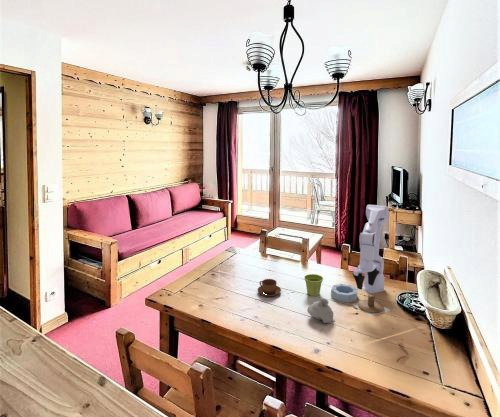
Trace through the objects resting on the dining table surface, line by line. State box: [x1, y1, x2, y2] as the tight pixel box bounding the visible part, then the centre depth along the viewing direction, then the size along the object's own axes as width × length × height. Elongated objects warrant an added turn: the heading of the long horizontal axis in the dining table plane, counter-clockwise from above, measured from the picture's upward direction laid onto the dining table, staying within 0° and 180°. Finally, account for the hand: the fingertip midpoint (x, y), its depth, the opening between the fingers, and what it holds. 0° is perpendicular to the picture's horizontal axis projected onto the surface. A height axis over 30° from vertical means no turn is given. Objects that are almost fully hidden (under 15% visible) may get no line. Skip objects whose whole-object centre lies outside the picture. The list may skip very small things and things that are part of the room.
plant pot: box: [303, 273, 324, 297], centre depth 161 cm, size 9×9×9 cm
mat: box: [351, 301, 392, 317], centre depth 146 cm, size 12×12×1 cm
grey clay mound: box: [306, 298, 334, 324], centre depth 138 cm, size 12×12×11 cm
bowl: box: [330, 283, 359, 303], centre depth 157 cm, size 12×12×4 cm
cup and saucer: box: [257, 278, 282, 297], centre depth 163 cm, size 12×12×6 cm
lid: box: [357, 294, 385, 314], centre depth 146 cm, size 11×11×6 cm
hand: (365, 286), depth 146 cm, fingers open, 7 cm apart
